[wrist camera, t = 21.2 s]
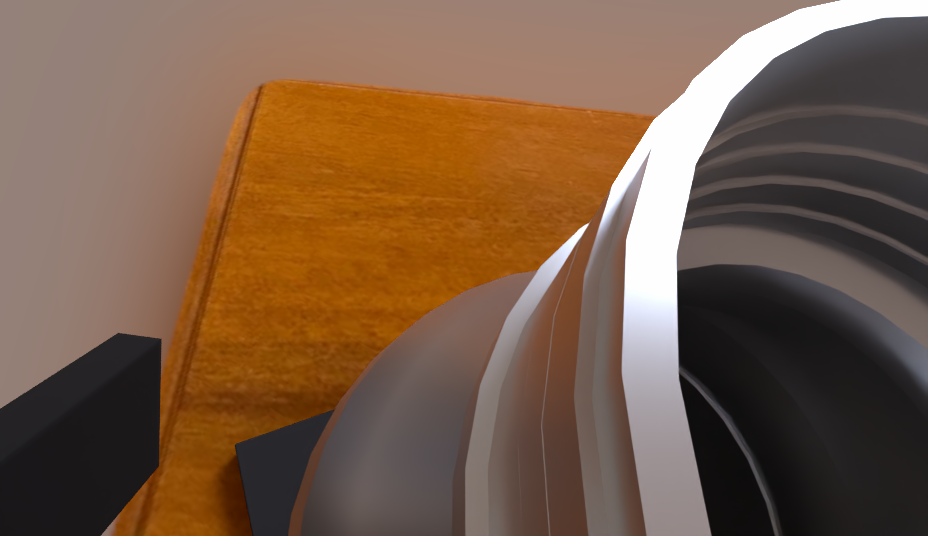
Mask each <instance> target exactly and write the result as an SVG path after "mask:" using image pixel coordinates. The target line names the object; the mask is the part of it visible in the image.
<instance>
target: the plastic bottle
mask: <svg viewBox="0 0 928 536" xmlns="http://www.w3.org/2000/svg"><path fill="white" fill-rule="evenodd" d="M288 536H928V0H843V1H838V2H834V3H829V4H824V5H819V6H814V7H810V8H805V9H800V10H798V11H796V12H793V13H791V14H789V15H787V16H785V17H783V18H781V19H779V20H776V21H774V22H772V23H770V24H768V25H766V26H764V27H762V28H759V29H757V30H755V31H753V32H751V33H749V34H747V35H745V36H743V37H742V38H741V39H739V40H738V41H737V42H736V43H735V44H734V45H733V46H731V47H730V48H729V49H728V50H727V51H726V52H724V54H722V55H721V56H720V57H719V58H718V59H716V60H715V61H714V62H713V63H712V64H711V65H710V66H708V67H707V68H706V69H705V70H704V71H703V72H702V73H700V74H699V75H698V76H697V77H696V78H695V79H694V80H693V81H692V83H691V84H690V86H689V88H688V89H687V91H686V93H685V94H684V95H682V96H681V97H680V98H679V99H678V100H677V101H676V102H674V103H673V104H672V105H671V106H670V107H669V108H668V109H667V110H665V111H664V112H663V113H662V114H661V115H660V116H659V117H657V118H656V119H655V120H654V121H653V123H652V124H651V126H650V127H649V129H648V131H647V132H646V134H645V135H644V137H643V138H642V140H641V141H640V143H639V145H638V146H637V148H636V149H635V151H634V152H633V154H632V156H631V157H630V159H629V160H628V162H627V163H626V165H625V167H624V168H623V170H622V171H621V173H620V174H619V176H618V177H617V179H616V181H615V182H614V184H613V185H612V187H611V189H610V190H609V192H608V193H607V195H606V197H605V198H604V200H603V202H602V203H601V205H600V207H599V208H598V210H597V211H596V213H595V215H594V216H593V218H592V219H591V221H590V223H588V224H586V225H585V226H583V227H582V228H580V229H579V230H578V231H577V232H576V233H575V234H574V235H573V236H572V237H571V238H570V239H569V240H568V241H567V242H566V243H565V244H564V245H563V246H562V247H560V248H559V249H558V250H557V251H556V252H555V253H554V254H553V255H552V256H551V257H550V258H549V259H548V260H547V261H546V262H545V263H544V264H543V265H541V267H540V268H539V270H538V271H531V272H524V273H518V274H511V275H508V276H505V277H502V278H500V279H497V280H494V281H491V282H488V283H485V284H482V285H480V286H477V287H474V288H471V289H468V290H466V291H465V292H463V293H461V294H459V295H458V296H456V297H454V298H453V299H451V300H449V301H447V302H446V303H444V304H442V305H441V306H439V307H437V308H436V309H434V310H432V311H430V312H429V313H427V314H426V315H424V316H423V317H422V318H420V319H419V320H418V321H417V322H415V323H414V324H413V325H412V326H410V327H409V328H408V329H407V330H406V331H405V332H404V333H402V334H401V335H400V336H399V337H398V338H397V339H396V340H394V341H393V342H392V343H391V344H390V345H389V346H387V347H386V348H385V349H384V350H383V351H382V352H381V353H379V354H378V355H377V356H376V357H375V358H374V359H373V360H372V361H371V362H370V363H369V365H368V366H367V367H366V368H365V370H364V371H363V372H362V373H361V375H360V376H359V377H358V378H357V380H356V381H355V382H354V384H353V385H352V386H351V387H350V389H349V390H348V391H347V392H346V394H345V395H344V396H343V397H342V399H341V400H340V401H339V403H338V405H337V406H336V408H335V410H334V412H333V414H332V416H331V418H330V420H329V421H328V423H327V425H326V427H325V429H324V431H323V433H322V434H321V436H320V438H319V440H318V442H317V444H316V446H315V447H314V449H313V451H312V453H311V456H310V459H309V462H308V465H307V468H306V471H305V474H304V477H303V480H302V483H301V486H300V489H299V492H298V495H297V498H296V501H295V504H294V507H293V510H292V513H291V519H290V525H289V532H288Z"/></svg>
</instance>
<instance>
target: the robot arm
mask: <svg viewBox="0 0 928 536" xmlns="http://www.w3.org/2000/svg"><path fill="white" fill-rule="evenodd" d="M160 382H161V339H158V338H150V337H143V336H136V335H129V334H122V333H118V334H116V335H114V336H113V337H111V338H110V339H108V340H107V341H105V342H104V343H102V344H100V345H99V346H98V347H96V348H94V349H93V350H91V351H89V352H88V353H86V354H85V355H83V356H82V357H80V358H79V359H77V360H75V361H74V362H72V363H71V364H69V365H68V366H66V367H65V368H63V369H61V370H60V371H58V372H57V373H55V374H54V375H52V376H51V377H49V378H48V379H46V380H44V381H43V382H41V383H40V384H38V385H37V386H35V387H33V388H32V389H30V390H29V391H27V392H26V393H24V394H23V395H21V396H19V397H18V398H16V399H15V400H13V401H12V402H10V403H9V404H7V405H6V406H4V407H2V408H1V409H0V536H101V535H102V533H103V532H104V531H105V530H106V529H107V527H108V526H109V525H110V524H111V523H112V521H113V520H114V519H115V518H116V517H117V515H118V514H119V513H120V512H121V511H122V509H123V508H124V507H125V506H126V505H127V503H128V502H129V501H130V500H131V499H132V498H133V496H134V495H135V494H136V493H137V492H138V490H139V489H140V488H141V487H142V486H143V484H144V483H145V482H146V481H147V480H148V478H149V477H150V476H151V475H152V474H153V472H154V471H155V470H156V469H157V468H158V466H159V430H160Z"/></svg>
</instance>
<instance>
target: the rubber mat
mask: <svg viewBox="0 0 928 536" xmlns="http://www.w3.org/2000/svg"><path fill="white" fill-rule="evenodd" d="M334 410H335V409H334ZM334 410H332V411H329V412H326V413H323V414H320V415H317V416H314V417H312V418H309V419H306V420H303V421H300V422H297V423H294V424H292V425H289V426H286V427H283V428H280V429H277V430H274V431H272V432H269V433H266V434H263V435H260V436H257V437H254V438H252V439H249V440H246V441H243V442H240V443H237V444H235V449H236V454H237V459H238V464H239V469H240V474H241V479H242V484H243V489H244V494H245V499H246V504H247V509H248V514H249V519H250V524H251V529H252V534H253V536H288V532H289V525H290V519H291V513H292V510H293V507H294V504H295V501H296V498H297V495H298V492H299V489H300V486H301V483H302V480H303V477H304V474H305V471H306V468H307V465H308V462H309V459H310V456H311V453H312V451H313V449H314V447H315V446H316V444H317V442H318V440H319V438H320V436H321V434H322V433H323V431H324V429H325V427H326V425H327V423H328V421H329V420H330V418H331V416H332V414H333V412H334Z"/></svg>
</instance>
